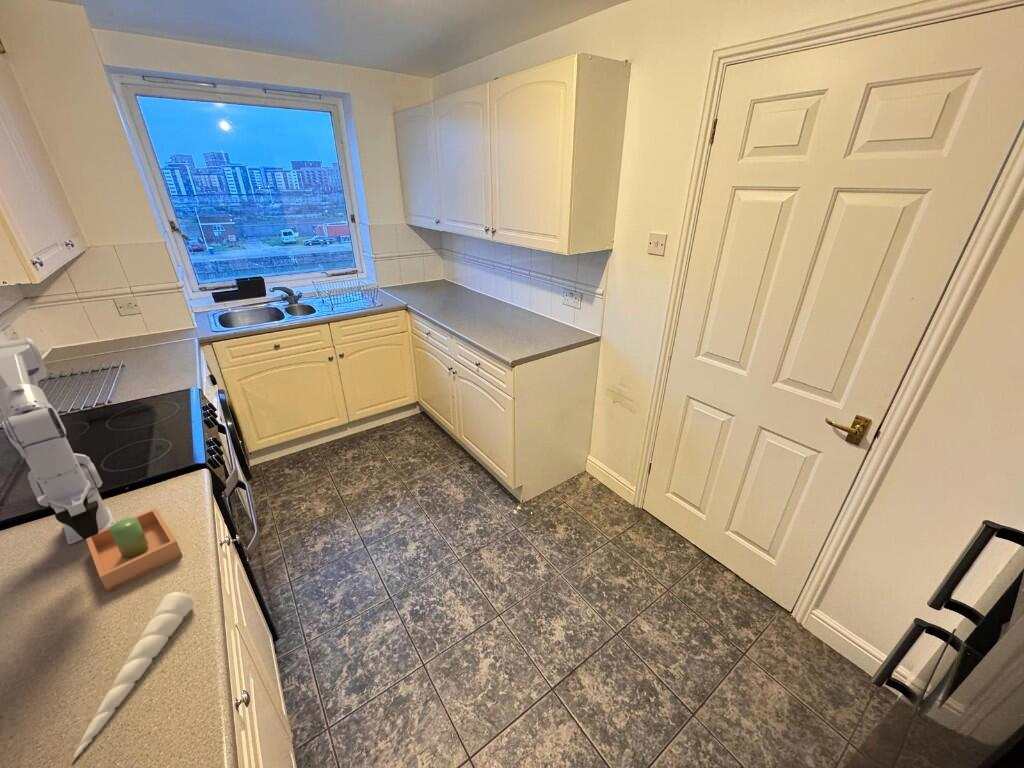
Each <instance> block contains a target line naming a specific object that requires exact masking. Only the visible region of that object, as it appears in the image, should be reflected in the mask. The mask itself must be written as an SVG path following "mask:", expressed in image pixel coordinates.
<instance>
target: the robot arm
mask: <svg viewBox="0 0 1024 768" xmlns="http://www.w3.org/2000/svg"><path fill="white" fill-rule="evenodd" d="M47 372H48V371H47V368H46V366H45V361H44V360H43V358H42V355H41V353H40V352H39V349H38V347H37V345H36V342H35V341H34V340H33V338H32V339H31V338H30V337H24V338H22V339H17V340H10V341H4V342H0V410H1V413H2V415H3V418H4V420H5V421H1V424H2V428H3V430H4V432H5V434H6V437H7V438H8V439H9V441H10V444H12V445H13V447H15V448H16V450H17V451H18V452H19V454H20V456H21V457H22V459H25V461H26V463H27V466H28V467H29V468H30V471H28V474H27V479H28V482H29V485H30V488H31V490H32V492H33V494H34V496H35V498H36V501H37V503H38V504H39V505H40V506H44V507H48V506H50V508H52V509H53V510H54V512H55V514H54V517H55V519H56V520H57V521H58V522H59V523H60V524H61V525H62V528H63V532H64V534H65V538H66V541H67V544H68V545H72V544H75V543H77V542H79V541H82V540H86V539H87V538H89V537H92V536H94V535H96V534H98V532H99V531H101V530H104V529H106V528H109V527H111V526H112V525H114V524H115V523H117V522H116V520H115V519H114V516H113V514H112V512H111V510H110V507H109V506H106V505H105V504H104V502H103V499H102V496H101V495H100V493H99V490H98V488H100V487H102V485H103V481H102V479H101V476H100V475H99V473H98V470H97V469H96V466H95V465H94V463H93V462H92V461H91V458H90V457H89V456H87V455H86V454H82V453H76V452H75V453H74V452H73V449H72V447H71V444H70V443H69V441H68V438H67V432H66V431H67V430H66V428H65V425H64V423H63V422H62V420H61V417H60V416H59V413H58V411H57V410H56V409H55V408H54V406H52V404H51V403H50V402H49V401H48V399H47V397H46V393H44V391H43V390H42V388H41V387H39V382H40V381H41V380H43V379H45V378H47V377H48V375H47ZM60 431H61V432H60ZM62 432H63V433H62Z"/></svg>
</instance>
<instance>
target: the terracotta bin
mask: <svg viewBox="0 0 1024 768" xmlns="http://www.w3.org/2000/svg"><path fill="white" fill-rule="evenodd" d="M133 517H134V518H137V519H138V521H139V523H140V525H141V528H142V530H143V532H144V534H145V536H146V539H147V541H148V543H149V548H148V549H147V550H146V551H145V552H144V553H143V554H141V555H139V556H137V557H134V558H130V559H125V558H123V557H122V555H121V553H120V551H119V549H118V547H117V545H116V543H115V541H114V539H113V537H112V535H111V533H110V531H109V529H110V527H109V528H106V529H104V530H101V531H99V532H98V534H96V535H94V536H92V537H89V538H87V539H85V540H86V543H87V546H88V549H89V551H90V554H91V557H92V560H93V562H94V565H95V567H96V571H97V573H98V575H99V578H100V580H101V582H102V584H103V586H104V588H105V589H106V591H107V592H108V593H110V592H112V591H114V590H116V589H118V588H120V587H122V586H124V585H126V584H127V583H130V582H132V581H134V580H136V579H138V578H140V577H142V576H143V575H145V574H148V573H149V572H151V571H154V570H155V569H157V568H160V567H162V566H164V565H166V564H168V563H169V562H173V561H174V560H176V559H177V558H179V557H182V556H183V553H182V551H181V549H180V546H179V543H178V541H177V540H176V537H175V536H174V535H173V534H172V531H171V530H170V528H169V527H168V525H167V524H166V521H165V520H164V518H163V517H162V515H161V514H160V513H159V511H158V509H157V508H156V507H155V508H151V509H150V510H147V511H144V512H143V513H142V512H141V513H139V514H137V515H135V516H133Z"/></svg>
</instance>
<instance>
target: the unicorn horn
mask: <svg viewBox="0 0 1024 768" xmlns="http://www.w3.org/2000/svg"><path fill="white" fill-rule="evenodd" d="M193 607H194V600H193V598H192V597H191V596H190V595H189V594H188V593H187V594H186V593H184V592H181V591H180V592H179V591H175V592H171V593H168V594H166V595H165V596H164V597H163V598H162V599H161V601H160V602H159V604H158V607H157V608H156V610H155V612H154V614H153V615H152V617H151V619H150V621H148V623H147V624H146V627H145V628H144V630H143V631H142V633H141V635H140V637H139V638H138V639H137V643H135V645H134V647H133V649H132V650H131V652H130V654H129V655H128V657H127V659H126V660H125V663H124V665H123V666H122V667H121V668H120V670H119V672H118V674H117V676H116V677H115V679H114V681H113V682H112V684H111V686H110V688H109V690H108V692H107V693H106V695H105V696H104V697H103V700H102V702H101V703H100V706H99V707H98V709H97V711H96V712H95V715H94V716H93V719H92V720H91V722H90V723H89V725H88V727H87V728H86V731H85V733H84V734H83V737H82V738H81V740H80V742H79V744H78V746H77V748H76V751H75V753H74V754H73V757H76V756H77V755H79V754H80V752H81V751H82V750H83V749H84V748H85V747H86V745H88V743H89V742H90V743H92V741H93V740H92V737H95V736H97V735H98V734H99V732H100V731H101V730H102V729H103V728H104V726H105V725H106V724H107V723H108V721H109V719H110V718H111V717H112V716H113V714H114V713H115V711H116V708H117V707H119V706H120V705H121V704H122V702H123V701H124V700H125V699H126V697H128V696H127V695H129V693H130V692H131V691H132V689H133V688H134V687H135V685H136V681H139V680H140V679H141V677H142V676H143V674H144V673H145V672H146V671H147V669H148V668H149V666H150V665H151V664H152V663H153V661H154V660H153V658H156V657H157V655H158V654H159V653H160V652H161V651H162V649H163V648H164V646H165V645H166V643H167V642H168V641H169V637H171V636H172V635H173V634H174V633H175V631H176V630H177V628H179V626H180V624H181V623H182V622H183V621H184V618H185V617H187V615H188V614H189V613H190V611H191V610H192V608H193ZM88 746H89V745H88ZM86 748H87V747H86ZM80 755H81V754H80Z"/></svg>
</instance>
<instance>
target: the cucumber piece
mask: <svg viewBox="0 0 1024 768" xmlns="http://www.w3.org/2000/svg"><path fill="white" fill-rule="evenodd" d="M134 517H135V516H133V517H127V518H124V519H121V520H119V521H117V522H116V523H115V524H114V525H112V526H111V527H110V529H109V531H110V533H111V535H112V537H113V539H114V541H115V543H116V545H117V547H118V549H119V551H120V553H121V555H122V557H123V558H125V559H130V558H134V557H137V556H139V555H141V554H143V553H144V552H145V551H146V550H147V549H148V548H149V543H148V541H147V539H146V536H145V534H144V532H143V530H142V528H141V525H140V523H139V521H138V519H137V518H134Z"/></svg>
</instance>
